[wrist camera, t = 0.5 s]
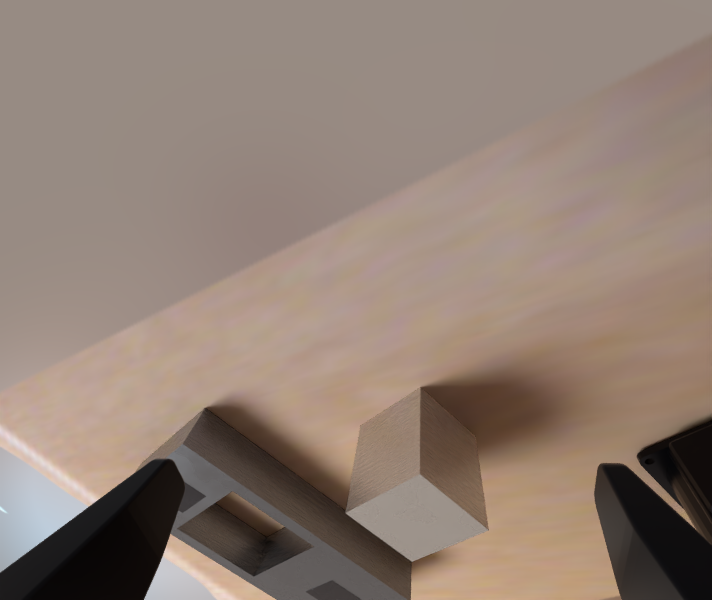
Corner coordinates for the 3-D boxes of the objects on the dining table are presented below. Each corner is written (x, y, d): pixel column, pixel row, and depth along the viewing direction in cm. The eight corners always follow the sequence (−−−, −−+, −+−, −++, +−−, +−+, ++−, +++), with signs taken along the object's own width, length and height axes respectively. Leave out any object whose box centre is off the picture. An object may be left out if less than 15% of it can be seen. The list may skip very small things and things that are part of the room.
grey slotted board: (411, 559, 33) (410, 602, 30) (334, 591, 37) (327, 631, 34) (205, 408, 28) (182, 444, 25) (141, 463, 32) (115, 500, 29)
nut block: (475, 435, 26) (488, 530, 21) (414, 469, 28) (411, 561, 23) (420, 386, 24) (419, 473, 19) (360, 425, 27) (345, 513, 21)
